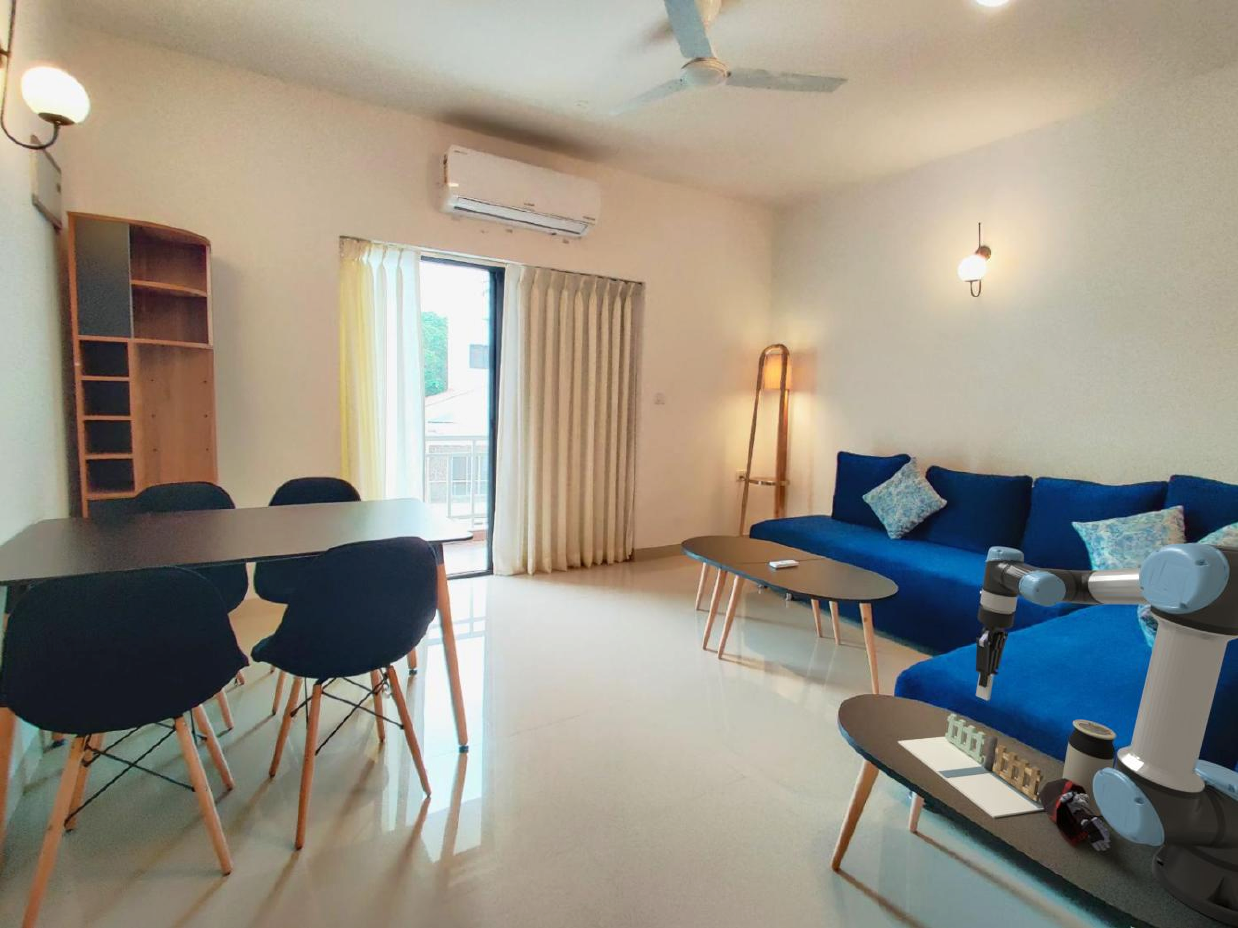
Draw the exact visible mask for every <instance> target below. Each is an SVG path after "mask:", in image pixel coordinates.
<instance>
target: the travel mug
mask: <svg viewBox="0 0 1238 928" xmlns="http://www.w3.org/2000/svg"><path fill="white" fill-rule="evenodd" d="M1072 725H1073V728H1074V729H1073V731H1071V732H1070V733H1069V736H1068V741H1067V748H1066V753H1065V761H1064V765H1063V766H1064V767H1063V772H1062V778H1061V779H1063V778H1066V779H1068V780H1070V781H1072V782H1074V783H1076V784H1078V785H1080V786H1082V787H1083V788H1084V790H1085V791H1086V795H1088V797H1089V800H1088V806H1089V808H1090V810H1091V812H1092V814H1091V813H1090V812H1089V813H1088V815H1093V816H1094V817H1099V816H1103V815H1102V813H1101V811H1100V808H1099V807H1098V805H1097V803H1096V800H1095V797H1094V793H1093V779H1094V776H1095V774H1096V773H1097V772H1098V771H1100V770H1103V769H1105V768H1112V769H1113V768H1114V762H1115V761H1114V759H1115V756H1116V748H1115V746H1114V744H1113V743H1114V740H1116V738H1117V734H1116V733H1115V732H1114V731H1113V729H1110V727H1109V728H1108V727H1107V726H1105V725H1103V724H1100V723H1097V722H1095V721H1090V720H1087V719H1075V720H1073V721H1072Z"/></svg>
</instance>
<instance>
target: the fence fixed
mask: <svg viewBox="0 0 1238 928" xmlns="http://www.w3.org/2000/svg"><path fill="white" fill-rule="evenodd" d="M998 739H999V738H997V736H995V735H991V734H990V735H988V739H987V744H986V745H987V746H986V754H985V757H986V758H985V765H984V768H985V769H986V770H988V771H993V772H995V774H996V775H998V776H999V777H1000V776H1001V777H1002V778H1003V779H1005V781H1006V782H1008V783H1009V784H1012V785H1013V786H1015V787H1016V789H1017V790H1019V791H1020V792H1023V793H1025V794H1026V795H1028V797H1029V798H1030V799H1032V800H1035V801H1039V795H1038V794H1037V793H1038V789H1039V785H1040V782H1043V778H1044V776H1043V775H1042V774H1041V772H1042V771H1041V769H1040V768H1038V767H1037V766H1032V767H1030V766H1029V765H1030V762H1029V761H1028V760H1027V759H1025V758H1023V759H1020V760H1019V759H1018V757H1019V756H1018V754H1017V753H1015V752H1014V751H1009V753H1008V752H1007V751H1008V750H1007V749H1008V748H1007V747H1006V746H1005V745H1003V744H1000V745H998ZM997 745H998V747H997ZM996 755H997V756H996ZM995 759H996V763H995ZM1005 761H1007V766H1006V767H1007V768H1006V770H1005ZM994 763H995V764H996V766H994ZM1017 768H1018V769H1019V770H1018V775H1017V779H1018V780H1016V779H1015V778H1014V777H1016V776H1015V774H1016V770H1017ZM1003 770H1005V771H1007V773H1006V772H1005V771H1003ZM1028 775H1029V776H1030V779H1029V788H1028V787H1026V786H1025V785H1027V784H1026V783H1027V779H1028V778H1027V777H1028Z"/></svg>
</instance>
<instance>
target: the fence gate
mask: <svg viewBox="0 0 1238 928" xmlns="http://www.w3.org/2000/svg"><path fill="white" fill-rule="evenodd" d="M947 722H949V723H948V729H947V732H945V733H944V737H945V738H946V739H947V740H948V741H949V742H952V743H954V744H955V745H956V746H957V747H958V748H959V749H960V748H961V749H962V750H964V751H965V753H966V754H968V755H971V756H972V757H973V758H974V759H975V760H976V761H978V762H981V763H983V762H984V757H983V756H984V755H983V753H984V746H986V745H988V739H987V738H986V734H985V732H983V731H978V732H976V730H977V728H976V727H975V726H973V725H968V726H967V721H965V720H964V719H958V716H957V715H956V714H955V713H950V715H948V716H947ZM956 728H957V733H956ZM965 734H966V739H965ZM954 736H956V737H957V738H955V737H954ZM975 740H976V743H975V748H974V742H975ZM963 742H965V743H966V745H965V744H964V743H963ZM973 749H975V751H974V750H973ZM982 755H983V756H982Z"/></svg>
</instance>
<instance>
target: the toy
mask: <svg viewBox="0 0 1238 928" xmlns="http://www.w3.org/2000/svg"><path fill="white" fill-rule="evenodd" d="M1038 793H1039V798H1040V800H1041V803H1042V805H1043V808H1044V810H1043V811H1044V812H1045V813H1046V814H1047V815H1048V816H1049V819H1050V820H1051V821H1053V822H1054V824H1055V825H1056V828H1057V829H1058V831H1059V833H1060V834H1061V836H1062V837H1063V838H1064V839H1065V840H1066V842H1067V843H1069V844H1070V846H1071V847H1073V848H1076V847H1077V846H1078V843H1079V842H1080V841H1081V840H1085V838H1087V837H1088V838H1089V842H1090V844H1091V846H1092V848H1094V849H1095V850H1096V851H1097V852H1100V851H1103V852H1104V851H1106V850H1107V849H1109V848H1111V846H1110V844H1109V843H1110V842H1111V839H1110V837H1111V835H1110V831H1109V829H1108V828H1106V827H1105V826H1103V825H1104V822H1103V820H1101V819H1099V818H1098V817H1097V816H1094V815H1088V813H1089V812H1090V813H1091V814H1092V812H1091V810H1090V808H1089V806H1088V800H1089V797H1088V795H1086V791H1085V790H1084V788H1083V787H1082V786H1080V785H1078V784H1076V783H1074V782H1072V781H1070V780H1068V779H1066V778H1063V779H1062V778H1059V779H1056V780H1051V781H1048V782H1046V783H1045V784H1044V786H1043V787H1042V789H1041V791H1040V792H1038Z"/></svg>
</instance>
